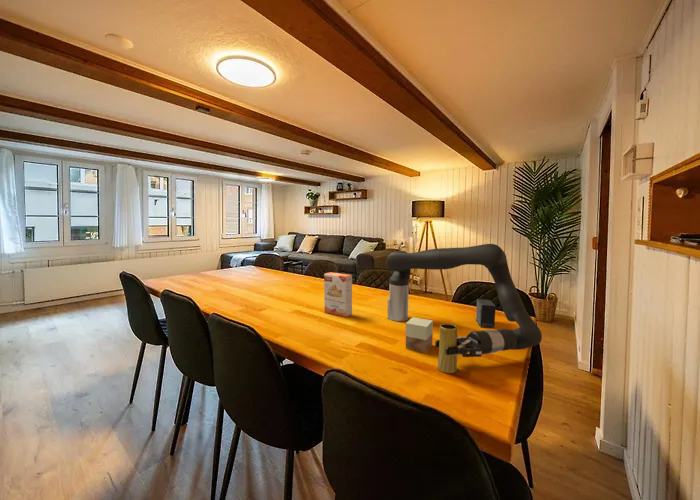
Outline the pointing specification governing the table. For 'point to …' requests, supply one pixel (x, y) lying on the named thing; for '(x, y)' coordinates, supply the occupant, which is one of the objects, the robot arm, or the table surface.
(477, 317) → the small box
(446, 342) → the vase
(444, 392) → the table surface
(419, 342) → the tower base block
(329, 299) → the cracker box
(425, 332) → the tower top block
